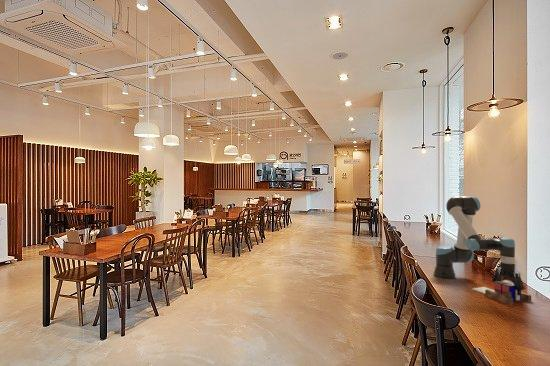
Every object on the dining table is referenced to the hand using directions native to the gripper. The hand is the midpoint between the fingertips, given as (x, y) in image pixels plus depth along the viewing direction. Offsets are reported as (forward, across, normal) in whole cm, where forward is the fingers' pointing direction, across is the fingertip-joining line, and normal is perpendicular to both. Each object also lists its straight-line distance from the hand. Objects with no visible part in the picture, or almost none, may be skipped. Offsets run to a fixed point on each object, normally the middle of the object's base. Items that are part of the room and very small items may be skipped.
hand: (507, 296), depth 195 cm
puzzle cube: (+2, 0, 0) cm, 2 cm away
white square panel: (+1, -14, -1) cm, 14 cm away
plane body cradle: (+1, 0, 0) cm, 1 cm away
